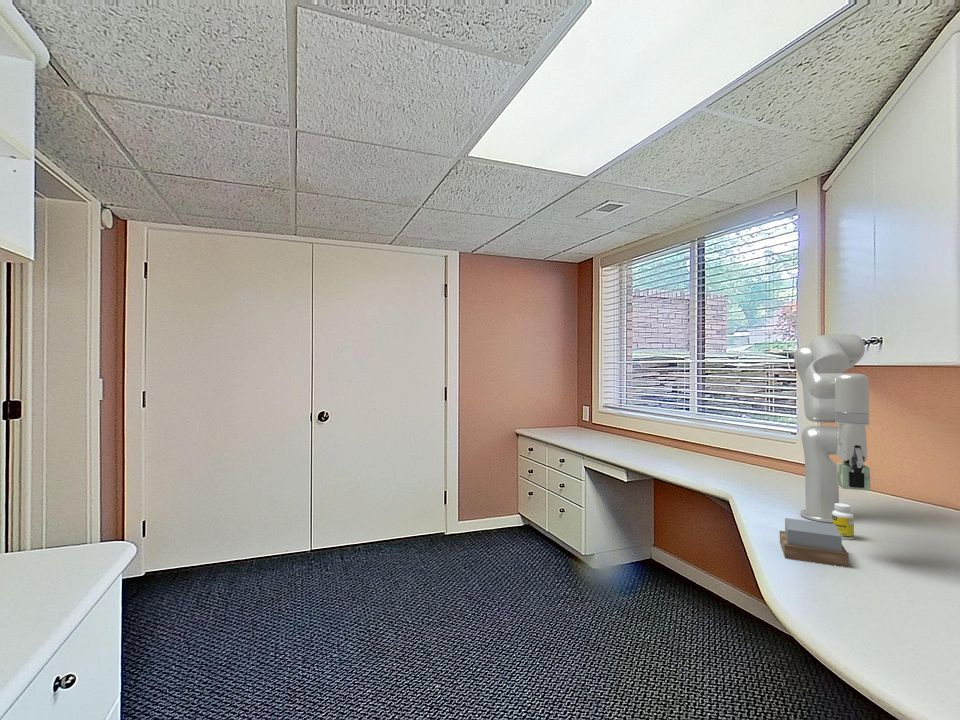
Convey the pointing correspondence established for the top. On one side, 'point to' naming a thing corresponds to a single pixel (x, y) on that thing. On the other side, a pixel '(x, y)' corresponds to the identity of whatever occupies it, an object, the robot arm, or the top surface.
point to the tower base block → (813, 553)
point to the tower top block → (813, 534)
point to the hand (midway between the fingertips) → (853, 484)
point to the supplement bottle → (843, 520)
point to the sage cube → (843, 477)
